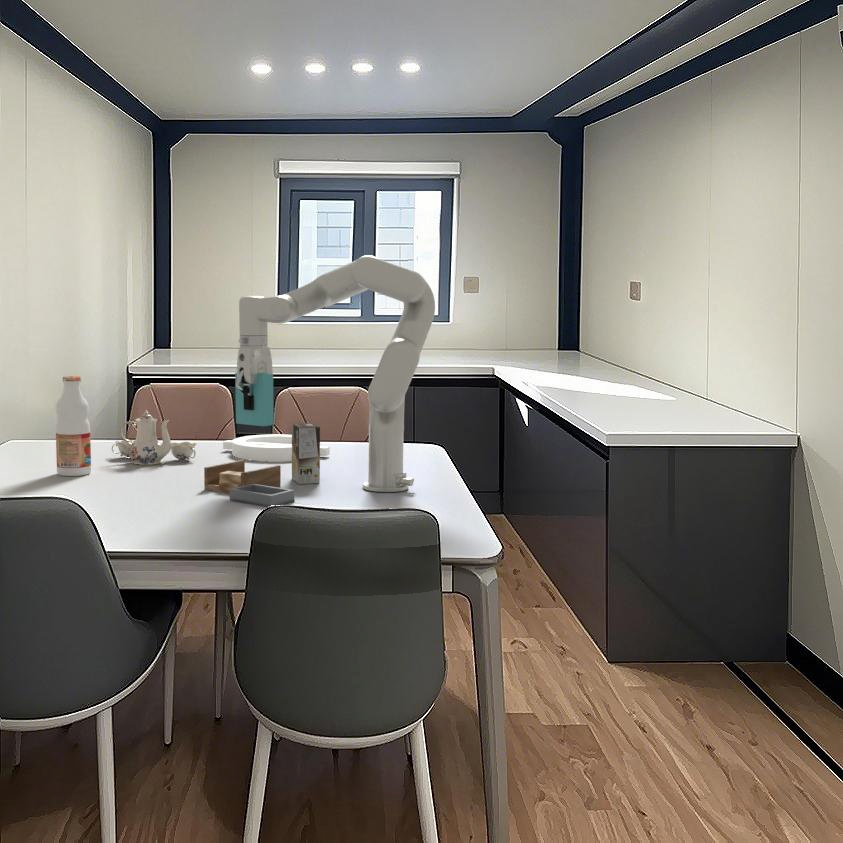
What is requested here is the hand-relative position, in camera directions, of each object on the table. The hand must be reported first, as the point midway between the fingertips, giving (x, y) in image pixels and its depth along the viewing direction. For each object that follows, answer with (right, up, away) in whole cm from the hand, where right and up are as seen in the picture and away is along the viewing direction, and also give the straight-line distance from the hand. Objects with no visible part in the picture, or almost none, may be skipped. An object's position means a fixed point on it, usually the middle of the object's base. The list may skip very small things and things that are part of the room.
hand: (254, 408), depth 290 cm
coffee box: (+13, -21, +11) cm, 27 cm away
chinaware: (-38, -16, +38) cm, 56 cm away
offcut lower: (-5, -22, -4) cm, 23 cm away
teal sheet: (0, -4, +1) cm, 4 cm away
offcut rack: (-3, -22, -1) cm, 22 cm away
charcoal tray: (+5, -24, -17) cm, 30 cm away
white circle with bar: (-2, -15, +55) cm, 57 cm away
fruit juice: (-54, -19, +15) cm, 59 cm away
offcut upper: (-5, -20, -4) cm, 21 cm away
